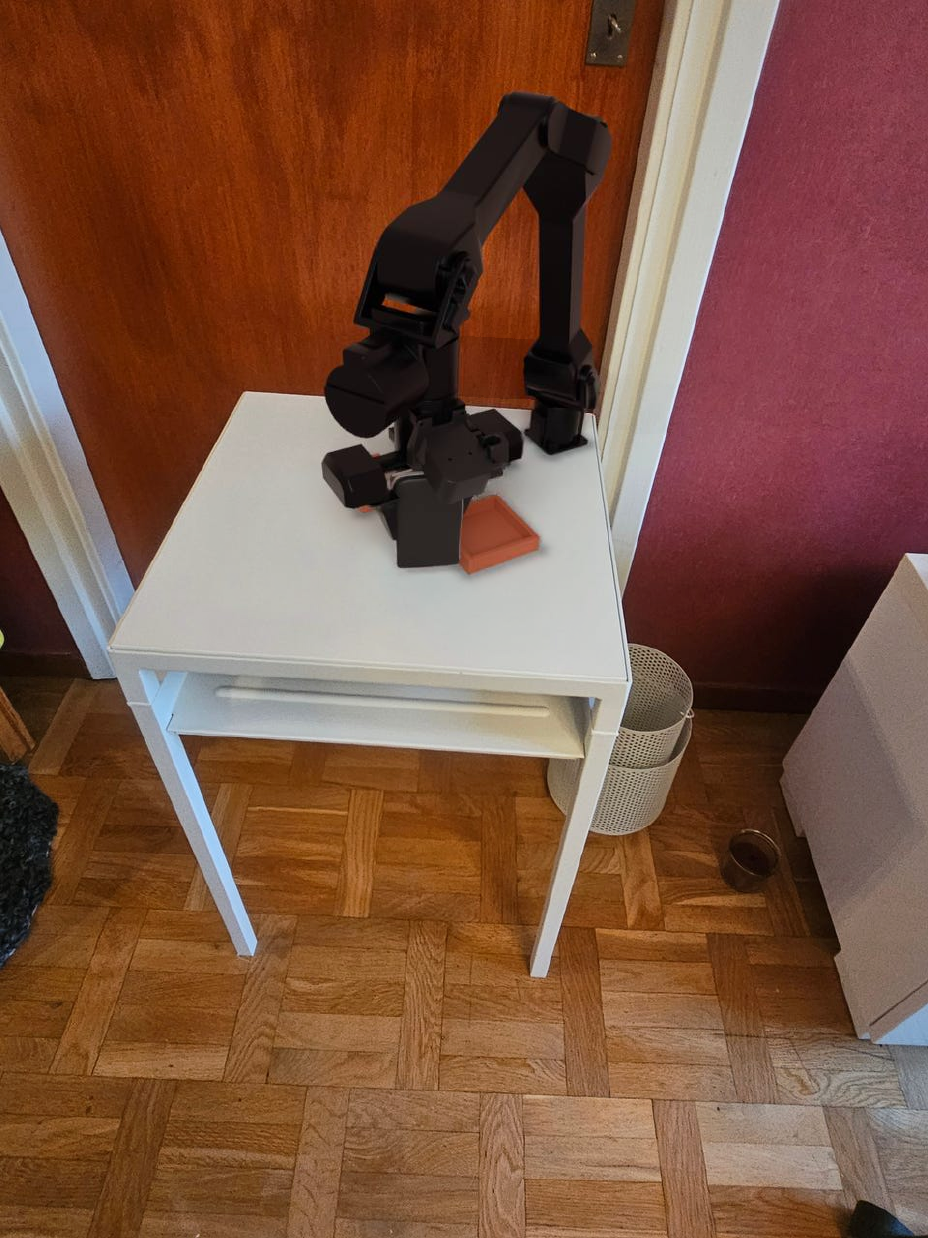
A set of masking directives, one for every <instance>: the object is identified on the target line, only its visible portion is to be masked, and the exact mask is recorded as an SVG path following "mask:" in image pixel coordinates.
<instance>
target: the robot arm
mask: <svg viewBox="0 0 928 1238" xmlns="http://www.w3.org/2000/svg"><path fill="white" fill-rule="evenodd" d="M612 140H613V139H612V134H611V132H609V125H608V123H607V122H604V120H603V118H602V116H600V115H595V114H588V113H583V112H579V111H577V110H575V109H573V108H570V107H569V106H568V105H567V104H566V103H565V102H564V101H562V100H559V99H558V98H557V97H556V96H555V95H549V94H543V93H536V92H529V91H523V90H513V91H512V92H511V93H510V92H506V93H505V94H503V96H502V97H501V100H500V101H499V104H498V108H497V111H496V116H495V117H494V119H492V121H491V123H489V125H488V126H487V128H486V129H485V131H484V132H483V133H482V135H481V136H480V137H479V139H478V140H477V141H476V143H475V144H474V145H473V147H472V148H471V149H470V151H469V152H468V153H467V155H466V156H465V157H464V159H463V160H462V162H461V163H460V164H459V166H458V167H457V169H456V170H455V171H454V172H453V174H452V175H451V177H450V178H449V179H448V180H447V182H446V183H445V184H444V186H443V187H442V189H441V190H440V191H439V192H438V193H437V194H436V195H435V196H433V197H430V198H428V199H425V200H423V201H420V202H417V203H415V204H412V205H409V206H407V207H406V208H405V209H404V210H403V211H402V212H401V213H400V214H398V216H396V218H395V219H394V220H392V221H391V222H390V223H389V224H388V225H387V226H386V227H385V228H384V229H383V231H382V232H381V234H380V236H379V238H378V240H377V242H376V243H375V246H374V249H373V252H372V254H371V255H372V256H371V259H370V261H369V262H370V263H369V265H368V269H367V272H366V276H365V279H364V282H363V285H362V289H361V292H360V295H359V299H358V303H357V306H356V309H355V313H354V316H353V319H352V320H353V325H354V326H357V327H360V328H364V329H367V330H369V335H368V336H365V337H364V338H363V339H361V340H359V341H357V342H353V343H351V344H349V345H347V346H345V347H344V348H343V350H342V354H341V355H342V363H341V364H339V365H337V366H336V367H334V368H333V369H332V370H331V371H330V372H329V374H328V376H327V378H326V381H325V385H324V386H323V395H324V399H325V402H326V406H327V408H328V411H329V413H330V414H331V415H332V417H333V419H334V420H335V421H336V423H337V424H338V425H339V427H341V428H342V429H343V430H345V431H346V432H347V433H349V434H351V435H352V436H354V437H356V438H361V439H371V438H372V439H373V438H375V437H376V436H378V435H380V434H381V433H383V432H384V431H385V430H387V429H388V439H389V440H390V441H391V442H392V443H393V444H394V451H390V452H387V453H383V454H380V455H379V456H376V457H373V456H372V455H373V454H371V453H370V452H369V450H368V449H367V448H366V447H365V446H364V445H363V444H362V443H358V444H355V445H351V446H346V447H343V448H340V449H336V450H332V451H329V452H326V454H325V455H324V456H323V458H322V461H321V463H320V464H321V473H322V479H323V480H324V481H325V483H326V484H327V486H328V487H329V488H330V489H331V491H332V492H333V493H334V495H335V496H336V497H337V498H338V500H339V501H340V503H341V504H342V505H343V507H344V508H346V509H351V510H355V509H359V507H362V506H365V505H367V506H368V507H370V508H375V509H374V510H375V511H376V513H377V516H378V517H379V519H380V520H381V521H380V522H381V523H382V525H383V527H384V529H385V530H386V532H387V534H388V537H390V539H391V540H392V541H393V542H395V540H397V534H398V527H397V518H396V508H395V503H396V502H397V501H398V500H399V499H400V498H399V497H398V496H397V494H396V493H395V492H394V491H393V490H392V489H391V478H392V477H394V476H397V475H401V474H404V473H408V472H411V471H416V470H419V469H422V471H423V473H424V475H425V477H426V478H427V480H428V482H429V483H430V485H431V487H432V489H433V490H434V494H435V496H436V498H437V499H438V500H439V501H440V502H442V503H444V504H452V503H455V502H457V501H458V500H461V499H463V515H462V518H463V516H464V514H465V512H466V509H467V507H468V505H469V503H470V502H472V500H473V497H478V496H480V495H482V494H483V493H484V492H485V491H486V488H487V486H488V483H489V481H490V480H493V479H497V478H501V477H503V475H504V470H505V469H506V467H507V466H506V464H507V463H509V462H511V463H512V462H516V461H518V460H521V459H522V457H523V455H524V447H525V438H524V436H526V437H527V438H528V439H529V440H531V441H532V442H533V443H534V444H535V445H536V446H538V447H539V449H541V450H542V451H543V452H545V453H546V454H547V455H549V456H554V455H556V454H557V455H558V454H560V453H563V452H566V451H570V450H574V449H576V448H577V449H578V448H579V447H583V446H586V445H588V443H589V440H588V439H587V437H585V436H584V435H582V433H583V432H582V431H583V425H584V420H585V414H586V412H587V411H588V410H595V409H596V408H597V406H598V401H599V396H600V394H601V387H602V380H601V378H600V375H599V373H598V371H597V368H596V367H595V366H594V346H593V344H592V343H591V341H590V339H589V338H588V336H587V335H586V333H585V332H584V330H583V328H582V326H581V325H582V305H583V304H582V303H583V282H584V281H583V280H584V259H585V241H586V239H585V238H586V219H587V217H586V216H587V213H586V212H587V204H588V203H589V201H590V200H591V199H592V197H593V196H594V194H595V193H596V191H597V189H598V187H599V186H600V184H601V183H602V182H603V179H604V178H605V172H606V169H607V167H608V164H609V161H610V157H611V153H612ZM521 190H523V192H524V193H525V195H526V197H527V198H528V200H529V201H530V203H531V205H532V207H533V208H534V211H535V212H536V213H537V217H538V218H537V219H538V221H537V222H538V314H539V315H538V320H539V321H538V327H539V328H538V330H539V331H538V336H537V338H536V339H535V341H534V342H533V343H532V345H531V346H530V347H529V349H528V350H527V352H526V354H525V356H524V357H523V358H522V359H523V369H522V373H523V374H522V376H523V378H522V379H523V381H522V382H523V385H524V396H526V397H531V398H534V402H533V403H534V404H533V408H531V411H530V418H529V427H528V428H525V429H524V430H523V432H522V430H521V429H519V428H518V427H517V426H516V425H515V424H513V423H512V422H511V421H510V420H509V419H508V418H507V417H505V416H504V415H503V414H502V413H501V412H500V411H498V410H497V409H496V408H492V409H491V408H490V409H487V410H486V409H485V410H483V411H478V412H476V413H472V414H470V415H467V413H468V411H467V409H466V403H465V402H464V401H463V400H462V399H461V398H460V397H459V380H460V379H459V376H460V375H459V374H460V343H461V341H460V340H461V326H462V325H463V324H464V323H465V322H467V321H468V320H470V318H471V316H472V312H471V310H470V308H469V305H470V304H471V301H472V299H473V296H474V293H475V291H476V289H477V288H478V286H479V280H480V278H481V276H482V275H483V273H484V261H483V259H484V258H483V247H484V245H485V243H486V241H487V239H488V238H489V236H490V234H491V233H492V231H493V230H494V229H495V226H497V224H498V223H499V222H500V220H501V218H502V217H503V216H504V214H505V213H506V211H507V209H508V208H509V206H510V205H511V204H512V202H513V201H514V200H515V198H516V197H517V195H518V194H519V192H520V191H521ZM385 299H387V300H390V301H393V302H396V303H400V304H404V305H408V306H411V307H415V309H413V310H412V311H410V312H409V311H405V310H402V309H398V308H395V307H391V306H388V305H384V304H383V303H384V302H385ZM391 425H393V426H391ZM390 426H391V427H390ZM523 434H524V435H523Z"/></svg>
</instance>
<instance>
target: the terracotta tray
mask: <svg viewBox="0 0 928 1238" xmlns="http://www.w3.org/2000/svg"><path fill="white" fill-rule="evenodd" d="M540 537H541V536H540V535H538V533H536V531H534V530H533V528H532V527H531V526H530V525H529V524H528V523H527V522H526V521H524V520H523V519H522V517H521V516H520V515H518V514H517V513H516V512H515V510H514V509H512V508H511V506H509V504H508V503H506V501H505V500H503V499H502V497H500V496H499V495H498V494H497V493H496V494H493V495H488V496H486V497H483V498H480V499H476V500H473V501H470V503H469V505H468V507H467V509H466V512H465V514H464V516H463V518H462V527H461V536H460V562H459V563H458V564H459V565H460V566H461V568H462V569H463V570H464V572H466V574H467V575H471V574H474V573H476V572H480V571H482V570H485V569H488V568H491V567H493V566H496V565H499V564H502V563H505V562H508V561H510V560H513V559H516V558H518V557H519V558H520V557H522V556H524V555H527V554H530V553H533V552H536V551H538V550H539V546H540V545H539V544H540V539H541V538H540Z"/></svg>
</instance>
